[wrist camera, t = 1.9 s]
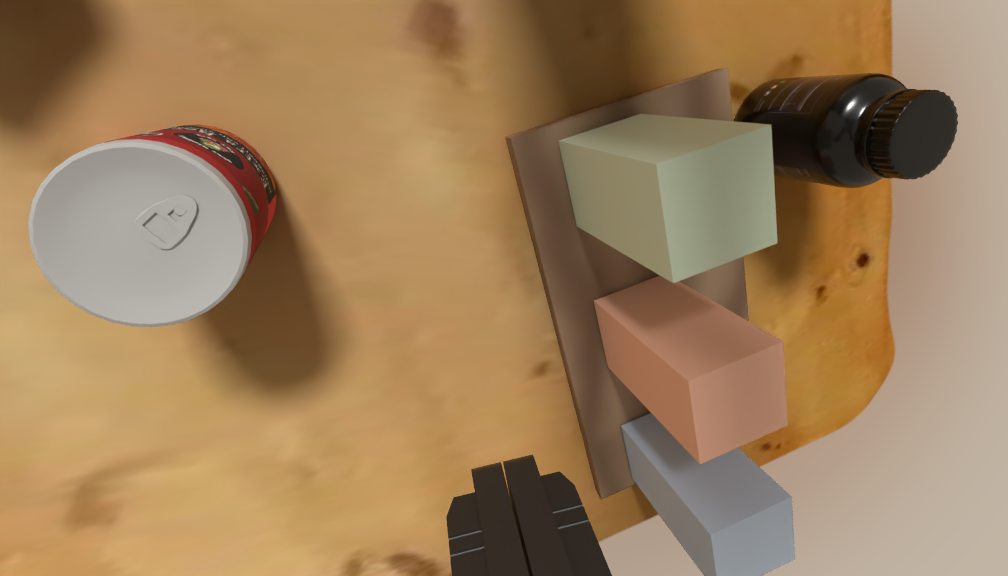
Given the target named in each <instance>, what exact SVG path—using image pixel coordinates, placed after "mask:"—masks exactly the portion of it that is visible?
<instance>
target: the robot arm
mask: <svg viewBox="0 0 1008 576" xmlns="http://www.w3.org/2000/svg"><path fill="white" fill-rule="evenodd" d="M503 463H504V469H505V474H506V480H507V485H508V489H507V485H506V481H505V477H504V473H503V469H502V465H501V462H499V463H495V464H491V465H487V466H483V467H479V468H475V469H471V470H472V477H473V482H474V488H475V492H474V493H470V494H466V495H462V496H458V497H454V498H453V501H452V504H451V506H450V509H449V512H448V514H447V528H448V538H449V548H450V556H451V569H452V576H612V575H611V573H610V570H609V568H608V565H607V563H606V560H605V558H604V556H603V553H602V551H601V548H600V546H599V543H598V541H597V538H596V536H595V534H594V531H593V529H592V526H591V524H590V522H589V520H588V517H587V514H586V512H585V509H584V507H583V506H582V502H581V500H580V497H579V495H578V492H577V490H576V488H575V485H574V484H573V483H572V482H570V481H569V480H568V479H567V478H566V477H565V476H564V475H563V474H562V473H560V472H556V473H552V474H548V475H544V476H540V474H539V471H538V468H537V465H536V462H535V459H534V457H533V455H529V456H525V457H521V458H516V459H512V460H508V461H504V462H503ZM508 490H509V493H508ZM509 496H510V497H509Z"/></svg>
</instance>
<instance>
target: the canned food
mask: <svg viewBox="0 0 1008 576" xmlns="http://www.w3.org/2000/svg"><path fill="white" fill-rule="evenodd" d="M276 199H277V195H276V187H275V182H274V179H273V176H272V174H271V171H270V169H269V167H268V166H267V164H266V162H265V161H264V159H263V158H262V157H261V156H260V154H259V153H258V152H257V151H256V150H255V149H254V148H253V147H252V146H251V145H249V144H248V143H247V142H246V141H244V140H243V139H241V138H240V137H238V136H236V135H234V134H232V133H230V132H228V131H225V130H222V129H219V128H216V127H211V126H204V125H183V126H178V127H173V128H169V129H164V130H159V131H154V132H149V133H145V134H140V135H135V136H130V137H126V138H121V139H117V140H112V141H108V142H105V143H102V144H97V145H94V146H92V147H90V148H87V149H85V150H83V151H81V152H79V153H76V154H75V155H73V156H71V157H69V158H68V159H67V160H65V161H64V162H63V163H61V164H60V165H59V166H57V167H56V168H55V169H53V170H52V172H51V173H50V174H49V175H48V176H47V178H46V179H45V180H44V181H43V182H42V183H41V185H40V187H39V189H38V191H37V193H36V195H35V197H34V199H33V201H32V205H31V210H30V215H29V220H28V225H29V241H30V244H31V247H32V251H33V254H34V258H35V260H36V262H37V263H38V265H39V267H40V269H41V271H42V272H43V274H44V276H45V277H46V278H47V280H48V281H49V282H50V283H51V284H52V285H53V287H54V288H55V289H56V290H57V291H58V292H59V293H60V294H61V295H63V296H64V297H65V298H66V299H68V300H69V301H70V302H71V303H72V304H74V305H75V306H77V307H79V308H81V309H83V310H84V311H86V312H88V313H90V314H91V315H94V316H96V317H99V318H102V319H105V320H107V321H110V322H113V323H119V324H124V325H129V326H139V327H158V326H166V325H173V324H177V323H180V322H184V321H187V320H191V319H193V318H195V317H197V316H199V315H201V314H203V313H205V312H207V311H209V310H210V309H211V308H213V307H214V306H215V305H217V304H218V303H219V302H221V301H222V300H223V299H224V298H225V297H226V296H227V295H228V294H229V293H230V292H231V291H232V290H233V288H234V287H235V286H236V285H237V284H238V282H239V280H240V279H241V277H242V276H243V274H244V272H245V271H246V269H247V267H248V265H249V264H250V262H251V260H252V258H253V256H254V254H255V252H256V250H257V249H258V247H259V245H260V243H261V241H262V239H263V237H264V235H265V233H266V231H267V230H268V228H269V226H270V224H271V222H272V219H273V216H274V213H275V210H276Z"/></svg>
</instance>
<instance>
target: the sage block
mask: <svg viewBox="0 0 1008 576" xmlns="http://www.w3.org/2000/svg"><path fill="white" fill-rule="evenodd" d="M558 142H559V146H560V151H561V156H562V160H563V165H564V169H565V174H566V179H567V183H568V188H569V192H570V197H571V202H572V206H573V211H574V215H575V220H576V225H577V227H579V228H581V229H582V230H584V231H586V232H587V233H589V234H591V235H592V236H594V237H596V238H597V239H599V240H601V241H602V242H604V243H606V244H608V245H609V246H611V247H613V248H614V249H616V250H618V251H619V252H621V253H623V254H624V255H626V256H628V257H630V258H631V259H633V260H635V261H636V262H638V263H640V264H641V265H643V266H645V267H646V268H648V269H650V270H652V271H653V272H655V273H657V274H658V275H660V276H662V277H663V278H665V279H667V280H668V281H670V282H672V283H676V282H678V281H681V280H683V279H686V278H689V277H691V276H694V275H696V274H699V273H702V272H704V271H707V270H709V269H712V268H715V267H717V266H720V265H722V264H725V263H728V262H730V261H733V260H735V259H738V258H741V257H743V256H746V255H748V254H751V253H754V252H756V251H759V250H761V249H764V248H766V247H769V246H772V245H774V244H777V224H776V204H775V185H774V166H773V147H772V128H771V125H770V124H758V123H746V122H734V121H722V120H710V119H698V118H686V117H674V116H662V115H650V114H638V115H635V116H632V117H629V118H626V119H623V120H620V121H617V122H614V123H611V124H608V125H605V126H602V127H599V128H596V129H592V130H589V131H586V132H583V133H580V134H577V135H574V136H571V137H568V138H565V139H562V140H559V141H558Z"/></svg>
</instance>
